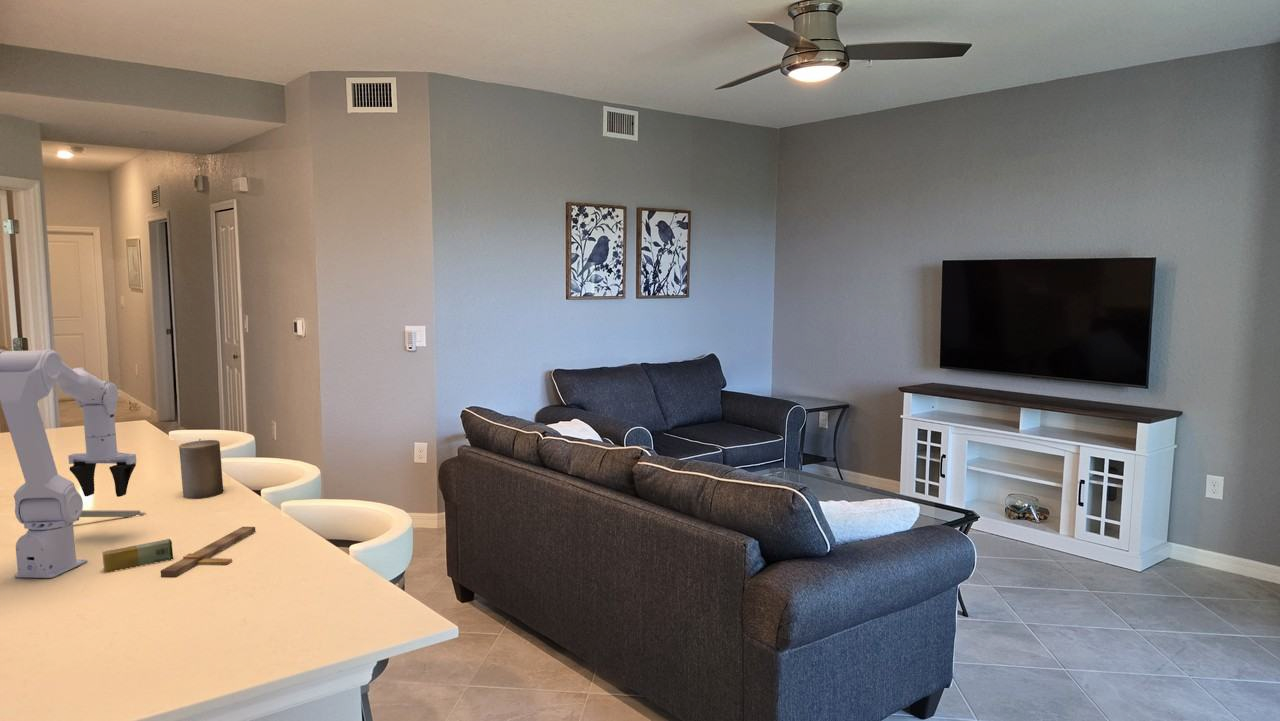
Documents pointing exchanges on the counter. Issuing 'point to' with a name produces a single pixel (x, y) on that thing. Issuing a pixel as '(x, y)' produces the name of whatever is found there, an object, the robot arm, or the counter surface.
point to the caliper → (110, 513)
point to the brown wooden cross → (207, 553)
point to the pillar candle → (201, 468)
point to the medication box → (137, 555)
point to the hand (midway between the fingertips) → (105, 495)
